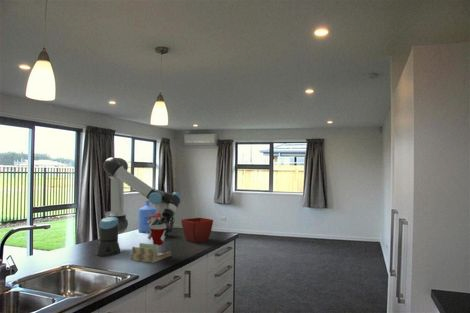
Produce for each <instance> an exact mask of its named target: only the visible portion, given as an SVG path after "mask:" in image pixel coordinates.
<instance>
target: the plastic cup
mask: <svg viewBox="0 0 470 313" xmlns="http://www.w3.org/2000/svg"><path fill="white" fill-rule="evenodd" d="M150 228H151V232H152V237H151V240H152V244H154V245H158V246H162V245H163V244H164V240H163V241H162V240H161V239H160V238H161V236H162V234H163V232H164V230H166V226H165V225H152V226H150Z"/></svg>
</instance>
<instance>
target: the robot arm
mask: <svg viewBox="0 0 470 313" xmlns="http://www.w3.org/2000/svg"><path fill="white" fill-rule="evenodd" d="M128 164H129V163H128V162H127V161H126V160H125V159H124V158H121V157H109V158H107V159H105V160H104V162H103V170H104V171H105V173H106V174H108V178H109V179H110V213H109V214H108V217H104V218H102V219H100V221H99V242H98V246H97V249H96V255H97V256H101V257H110V256H116V255H119V254H121V248H120V244H119V234H122V233H124V232H125V231H126V230H127V229H128V227H129V221H128V219H127V215H126V213H125V212H124V210H125V209H124V208H125V205H124V202H125V200H124V198H125V197H124V187H125V186H124V185H127V186H128V187H130V188H131V189H133V190H134V191H135V192H137V193H138V194H140V195H142V196H143V197H145V198H146V199H147V200H148V201H149V203H150V204H152V205H153V204H154V205H156V204H160V203H162V204H163V203H164V204H166V205H165V207H164V209H163V210H162V212H161V215H162V216H161V217H156V219H155V221H154V222H153V223H152V224H151V226H152V225H162V224H163V223H165V224H166V230H164V232H163V234H162V236H161V238H160V239H161V240H162V241H163V242H164V240H165V238H166V237H167V236H168V235H169V233H171V232H173V229H174V228H173V227H174V223H175V221H176V219H175V218H174V215H175V214H176V212H177V209H178V208H179V205H180V204H181V201H182V199H183V195H182V194H181V192H178V191H174V192H172V193H169V192H166V191H163V190H160V189H155V188H153V187H151V185H148V184H147V183H145V182H144V181H143V180H142V179H140V178H138V177H137V176H135V175H134V174H133V173H131V172H129V171H128V169H129V165H128ZM160 221H161V222H160ZM149 228H150V227H149ZM147 239H148V240H149V241H151V240H152V232H151V228H150V232H149V233H148V235H147Z"/></svg>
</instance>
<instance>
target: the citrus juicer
mask: <svg viewBox="0 0 470 313" xmlns="http://www.w3.org/2000/svg"><path fill="white" fill-rule="evenodd" d="M161 216H162V213H161V212H156V215H151V216H149V220H148V221H147V223H149V227H150V226H151V224H152V223H153V222H154V221H155V219H156V217H161ZM160 222H161V221H160ZM162 225H165V226H166V224H165V223H163V224H162ZM149 229H150V228H149Z"/></svg>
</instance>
